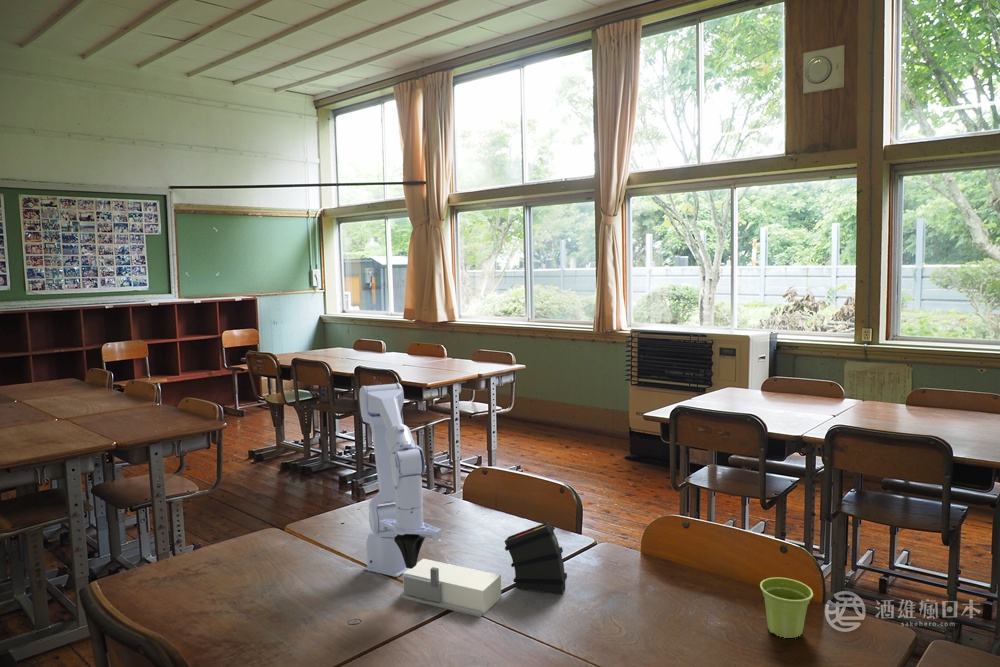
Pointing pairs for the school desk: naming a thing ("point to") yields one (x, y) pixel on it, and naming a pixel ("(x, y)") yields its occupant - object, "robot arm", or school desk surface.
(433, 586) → the side door
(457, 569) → the camera housing
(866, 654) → the school desk surface
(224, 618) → the school desk surface
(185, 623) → the school desk surface
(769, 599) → the plant pot
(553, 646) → the school desk surface
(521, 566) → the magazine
